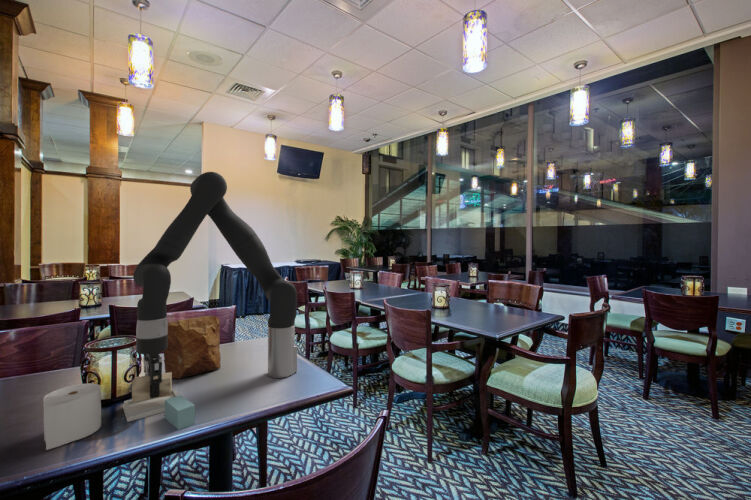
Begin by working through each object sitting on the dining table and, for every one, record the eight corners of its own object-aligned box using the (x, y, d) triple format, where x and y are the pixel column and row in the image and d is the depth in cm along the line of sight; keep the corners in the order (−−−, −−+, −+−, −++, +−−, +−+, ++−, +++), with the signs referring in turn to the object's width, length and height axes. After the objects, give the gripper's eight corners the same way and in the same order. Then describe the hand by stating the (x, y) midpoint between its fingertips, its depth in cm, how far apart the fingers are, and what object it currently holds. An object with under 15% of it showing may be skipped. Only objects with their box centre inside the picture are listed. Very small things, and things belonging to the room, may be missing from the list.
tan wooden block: (171, 388, 103) (171, 372, 103) (170, 395, 98) (170, 378, 98) (135, 394, 99) (135, 377, 99) (132, 402, 94) (131, 383, 94)
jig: (175, 394, 107) (175, 388, 106) (183, 406, 99) (183, 399, 99) (123, 407, 98) (123, 400, 98) (127, 421, 90) (127, 414, 90)
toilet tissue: (100, 416, 93) (99, 379, 93) (103, 435, 84) (102, 395, 84) (45, 430, 86) (44, 390, 86) (42, 453, 77) (41, 408, 77)
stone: (219, 364, 133) (218, 312, 132) (223, 373, 124) (223, 317, 123) (162, 373, 123) (161, 317, 122) (162, 384, 114) (162, 323, 113)
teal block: (181, 412, 96) (180, 394, 96) (194, 424, 90) (194, 405, 90) (164, 418, 93) (164, 399, 93) (178, 430, 87) (178, 410, 87)
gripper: (172, 337, 95) (173, 398, 95) (162, 327, 106) (163, 381, 106) (140, 342, 90) (140, 406, 91) (133, 331, 101) (133, 388, 101)
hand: (152, 392), depth 98 cm, fingers closed on tan wooden block, 5 cm apart
